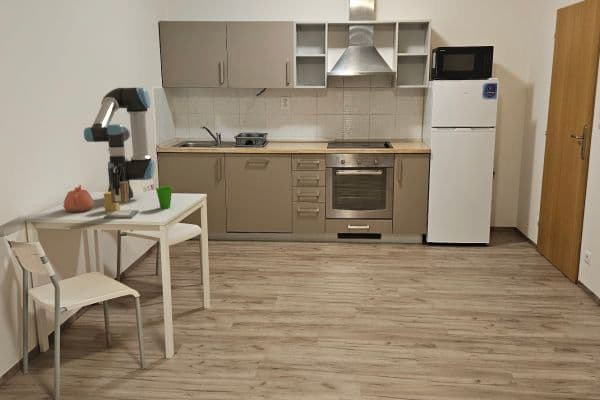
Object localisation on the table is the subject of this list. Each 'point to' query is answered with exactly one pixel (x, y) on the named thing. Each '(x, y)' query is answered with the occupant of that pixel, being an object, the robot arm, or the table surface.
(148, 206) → the table surface
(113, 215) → the board
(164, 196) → the cup
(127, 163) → the robot arm
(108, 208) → the mustard block
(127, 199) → the walnut block
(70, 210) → the orange rounded lump
